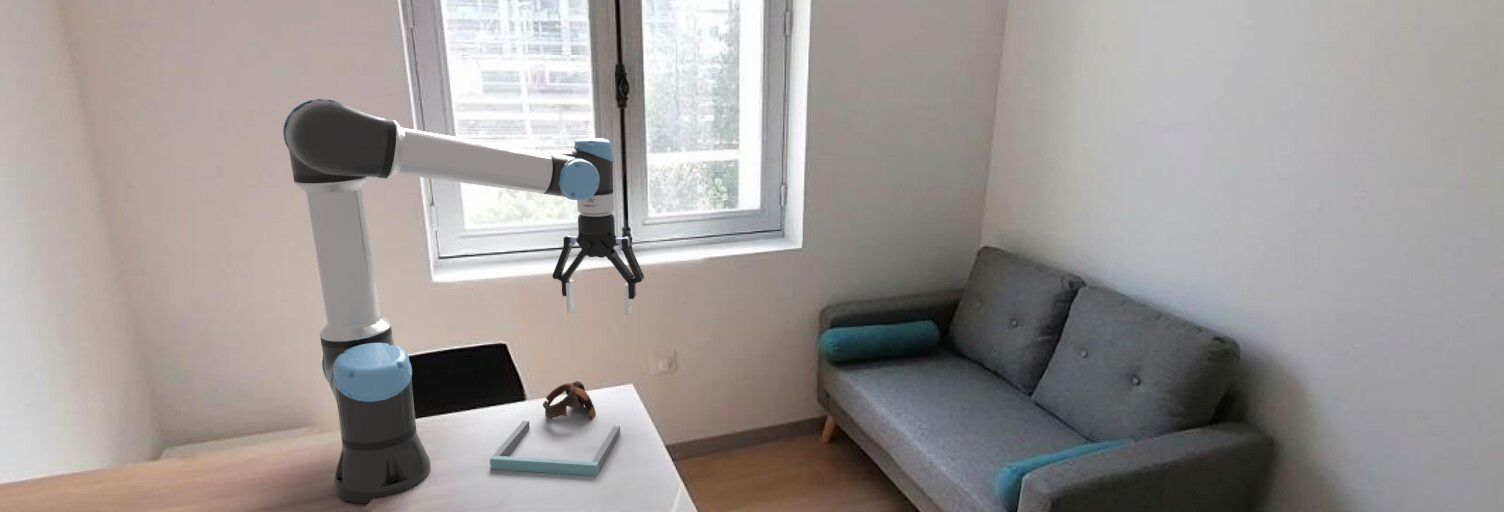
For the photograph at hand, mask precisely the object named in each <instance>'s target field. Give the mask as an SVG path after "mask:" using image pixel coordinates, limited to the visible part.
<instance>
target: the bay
mask: <svg viewBox="0 0 1504 512" xmlns="http://www.w3.org/2000/svg"><path fill="white" fill-rule="evenodd" d="M530 427H531V426H530V421H529V420H523V421H522V422H521V423H520V424H519V425H518V426H517V427H516V429H514V431H513V432H512V433H511V434H510V435H509V436H508V437H507V439H505V441H504V442H503V443H502V444H501V445H500V447H499V448H498V449H497V450H496V451H495V452H494V454H493V455H492V456H491V457H490V458H489V463H490V470H498V471H500V470H502V471H513V472H514V471H515V472H517V471H518V472H531V473H546V474H549V473H551V474H560V475H561V474H564V475H578V476H579V475H580V476H594V477H597V476H598V475H599V473H600V472H601V470H602V468H603V466H604V465H605V463H606V462H607V459H608V457H609V456H610V454H611V453H612V450H613V448H614V446H615V444H616V442H617V440H618V438H619V437H620V434H621V426H620V425H613V427H612V428H611V430H610V432H609V433H608V435H607V436H606V438H605V439H604V441H603V443H602V445H601V447H600V448H599V449H598V451H597V453H596V455H594V458H593V459H592V461H586V460H585V461H584V460H569V459H555V458H553V459H552V458H537V457H536V458H535V457H524V456H523V457H522V456H521V457H520V456H510V455H511V454H512V452H513V451H514V450H515V449H516V448H517V446H518V445H519V444H520V442H521V441H522V439H523V438H524V436H525V435H526V434H527V432H528V431H529V430H530Z"/></svg>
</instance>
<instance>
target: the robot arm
mask: <svg viewBox="0 0 1504 512" xmlns="http://www.w3.org/2000/svg"><path fill="white" fill-rule="evenodd" d="M282 128H283V131H282V134H283V140H284V144H285V145H286V147H287V149H288V154H289V160H290V166H291V171H292V177H293V182H294V184H295V185H296V186H298V187H299V188H301V189H302V190H303V191H304V192H305V193H306V198H307V199H306V200H307V205H308V212H309V218H310V223H311V228H312V235H313V242H314V248H315V253H316V259H317V264H318V265H317V266H318V271H319V278H320V284H321V290H322V295H323V296H322V297H323V302H324V309H325V314H326V321H327V324H326V325H325V326H324V327H323V329H322V330H321V331H320V332H319V337H320V344H321V350H322V361H321V366H322V367H321V368H322V371H323V374H324V377H325V380H326V381H327V382H328V384H329V386H330V389H331V391H332V394H333V396H334V399H335V402H336V406H337V412H338V419H339V420H338V421H339V427H340V428H339V429H340V430H339V431H340V434H341V435H340V436H341V444H342V447H341V451H340V454H339V458H338V459H339V460H338V463H337V466H336V471H335V476H334V485H335V492H336V494H337V496H338V497H339V498H341V499H342V500H344V501H348V502H352V503H358V504H359V503H361V504H369V503H371V502H372V501H373V500H375V499H381V498H382V499H383V498H387V497H392V496H395V495H398V494H401V493H404V492H406V491H409V490H411V489H413V488H415V487H417V486H419V485H420V484H421V483H422V482H424V481H425V480H426V479H428V476H429V475H430V473H431V471H432V468H431V467H432V466H431V460H430V457H429V455H428V453H427V451H426V449H425V447H424V444H423V442H422V441H421V439H420V437H419V435H418V432H417V423H416V413H415V403H414V402H415V401H414V391H413V379H412V376H413V368H412V363H411V362H410V358H409V354H408V353H407V351H405V350H404V349H403V348H402V347H399V346H398V345H397V344H396V345H395V343H394V339H393V337H394V336H393V331H392V323H391V321H390V320H388V319H387V318H385V317H383V316H382V315H381V312H380V305H379V304H380V303H379V297H378V290H377V284H376V277H375V270H374V262H373V257H372V255H373V254H372V250H371V249H372V248H371V243H370V234H369V229H368V223H367V215H366V207H365V201H364V194H363V187H364V184H365V183H366V182H367V181H368V180H369V179H370V178H378V179H386V180H389V179H390V178H392V177H393V176H395V175H402V176H403V175H404V176H411V177H419V178H426V179H432V180H438V181H439V180H440V181H447V182H448V181H449V182H457V183H463V184H470V185H478V186H484V187H490V188H499V189H506V190H514V191H521V192H522V191H523V192H528V193H536V194H544V195H548V196H555V197H563V198H567V199H569V200H571V201H576V202H577V203H576V204H577V211H578V213H579V214H578V215H577V227H578V230H577V232H578V233H577V234H578V235H577V236H575V235H572V234H571V233H570V234H567V235H565V236H564V237H563V247H562V250H561V252H560V255H559V258H558V259H557V263H556V264H555V268H554V271H553V274H552V279H553V280H558V281H560V283H561V293H562V294H561V295H562V297H565V298H566V311H567V313H572V312H573V311H574V310H575V309H576V308H575V305H576V304H575V292H574V291H575V288H574V287H575V286H574V279H571V277H572V275H573V274H574V273H575V272H576V271H577V269H578V268H579V266H580V265H581V264H582V262H583V261H584V259H586V257H589V258H595V257H597V258H601V259H602V258H603V259H604V258H605V257H606V258H607V260H608V261H610V263H611V264H612V265H613V266H614V267H615V269H616V270H617V271H618V273H619V274H620V275H621V276H622V279H624V281H625V282H626V283H625V284H624V285H623V286H624V288H623V289H624V290H623V291H624V315H625V316H630V314H631V313H632V311H633V310H632V309H633V308H632V304H633V303H632V300H634V299H635V298H636V296H637V291H636V290H637V289H636V285H637V283H641V282H642V281H643V280H644V279H645V275H644V273H643V271H642V268H641V266H640V264H639V262H638V260H637V257H636V255H635V253H634V251H633V248H632V246H631V245H632V243H631V238H630V236H628V235H627V236H624V237H617V236H616V233H615V232H616V229H615V221H616V220H615V214H614V213H613V212H614V211H615V199H614V197H615V196H614V159H613V158H614V157H613V147H612V143H611V141H610V140H608V139H606V138H597V137H588V138H587V137H585V138H578V139H576V140H575V141H574V146H573V149H572V148H571V149H567V150H566V149H565V150H540V151H539V150H532V149H527V148H521V147H514V146H510V145H509V146H508V145H504V144H497V143H491V142H486V141H480V140H473V139H469V138H464V137H463V138H462V137H458V136H457V137H456V136H451V135H445V134H439V133H433V132H427V131H424V130H423V131H422V130H417V129H410V128H405V127H402V126H401V125H400V124H399V123H398V122H397V120H394V119H389V118H384V117H380V116H375V115H371V114H369V113H366V112H362V111H360V110H358V109H355V108H352V107H351V106H348V105H346V104H343V103H342V102H339V101H335V100H332V99H322V98H317V99H310V100H308V101H304V102H302V103H300V104H299V105H296V106H295V107H294V108H293V109H292V110H291V111H290V113H289V114H288V115H287V117H286V119H285V122H284V124H283V127H282ZM576 243H577V244H578V246H579V247H580V248H581V249H580V251H579V252H578V254H577V255H576V256H575V258H574V260H573V262H572V263H571V264H570V265H569V267H568V268H567V269H566V271H565V272H564V273H563V271H564V269H565V266H566V264H567V262H568V260H569V256H570V254H571V251H572V249H573V246H575V245H576ZM616 245H618V246H619V247H620V249H622V252H623V255H624V256H625V259H626V262H627V263H628V265H629V267H628V266H627V264H626V263H625V262H624V261H623V260H622V258H621V257H620V256H619V254H618V251H616V249H615V246H616ZM629 268H630V269H629Z"/></svg>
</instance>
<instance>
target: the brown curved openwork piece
mask: <svg viewBox="0 0 1504 512" xmlns="http://www.w3.org/2000/svg"><path fill="white" fill-rule="evenodd" d="M564 392H565V394H566V396H564V398H563V399H562V400H560V401H559V402H557V403H555V404H551V403H552V402H554V400H555V399H556V398H558V397H559V396H561V395H562V394H564ZM590 397H591V396H590V395H589V394H588V393H587V392H586V389H585V385H584V384H583V383H582V382H581V381H578V380H576V381H574V382H572V383H571V382H570V383H569V382H568V383H564V384H561V385H559V386H557V387H556V388H554V389H553V390H552V391H550V393H549V394H548V395H546V398H545V399H546V400H544V402H543V403H542V407H543V409H544V410H545V411H544V415H545V418H548V419H553V418H558V417H560V416H562V417H566V418H567V417H568V413H567V409H568V408H567V407H569V408H581V407H584V408H585V409H588V410H589V412H588V416H589V417H590V419H591V420H594V418H595V417H596V415H597V413H596V409H595V406H594V403H593V401H592V400H591V398H590Z"/></svg>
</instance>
